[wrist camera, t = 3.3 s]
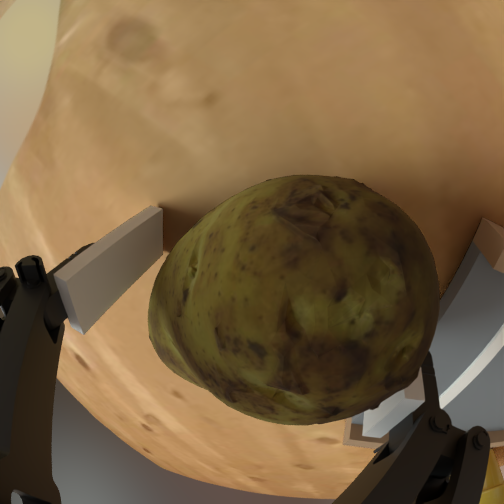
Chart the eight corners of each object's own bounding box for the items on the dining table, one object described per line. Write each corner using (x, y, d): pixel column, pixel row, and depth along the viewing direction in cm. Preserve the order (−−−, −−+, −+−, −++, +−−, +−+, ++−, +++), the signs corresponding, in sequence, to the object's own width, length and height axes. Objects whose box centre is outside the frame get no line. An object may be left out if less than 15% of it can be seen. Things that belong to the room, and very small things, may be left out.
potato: (131, 221, 14) (21, 307, 8) (377, 127, 9) (471, 180, 2) (200, 335, 17) (139, 437, 11) (414, 301, 12) (438, 455, 5)
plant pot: (495, 457, 18) (497, 510, 10) (434, 476, 23) (430, 531, 15) (514, 432, 15) (519, 498, 7) (440, 458, 20) (437, 527, 11)
